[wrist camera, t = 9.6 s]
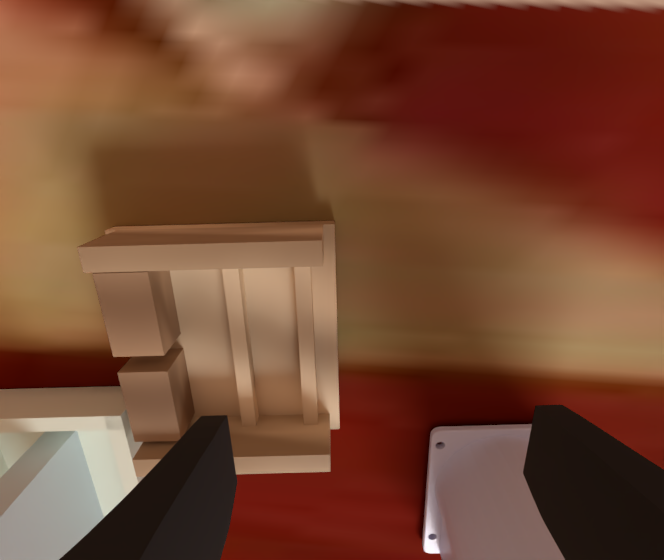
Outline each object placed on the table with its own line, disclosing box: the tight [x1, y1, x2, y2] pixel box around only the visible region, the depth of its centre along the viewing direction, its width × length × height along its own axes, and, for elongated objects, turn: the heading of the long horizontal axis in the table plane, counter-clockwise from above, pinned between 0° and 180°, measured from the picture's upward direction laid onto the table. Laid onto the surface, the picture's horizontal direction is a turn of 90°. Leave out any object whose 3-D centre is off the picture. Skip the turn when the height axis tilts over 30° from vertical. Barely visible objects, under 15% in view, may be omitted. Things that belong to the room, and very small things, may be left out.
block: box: [0, 431, 104, 560], centre depth 19 cm, size 8×2×6 cm, turn 1°
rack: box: [77, 221, 340, 477], centre depth 18 cm, size 11×10×4 cm
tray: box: [0, 386, 144, 517], centre depth 22 cm, size 12×9×2 cm
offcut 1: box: [93, 271, 181, 357], centre depth 17 cm, size 4×2×2 cm, turn 1°
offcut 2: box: [117, 348, 195, 442], centre depth 19 cm, size 4×2×2 cm, turn 1°
